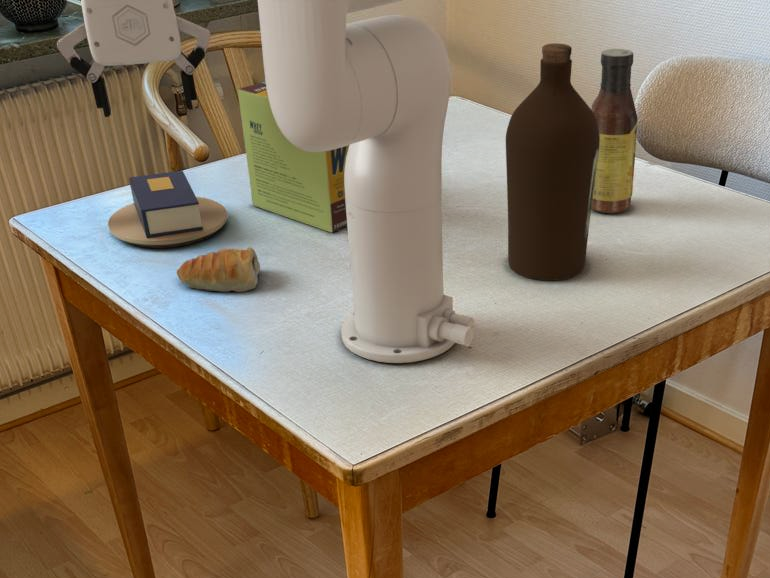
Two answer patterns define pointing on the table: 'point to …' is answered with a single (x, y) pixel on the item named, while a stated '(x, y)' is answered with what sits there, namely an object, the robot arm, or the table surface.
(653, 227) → the table surface
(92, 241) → the table surface
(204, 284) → the pastry
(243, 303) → the table surface
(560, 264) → the olive oil
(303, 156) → the protein box
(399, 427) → the table surface
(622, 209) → the sauce bottle
